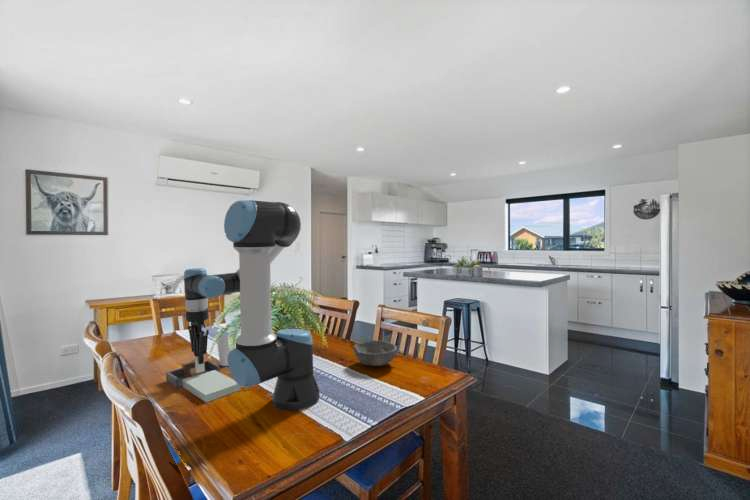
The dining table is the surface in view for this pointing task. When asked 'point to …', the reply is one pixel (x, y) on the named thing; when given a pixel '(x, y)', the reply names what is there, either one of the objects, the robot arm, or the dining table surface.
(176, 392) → the dining table surface
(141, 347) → the dining table surface
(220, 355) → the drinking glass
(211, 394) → the board
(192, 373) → the tile
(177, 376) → the tray
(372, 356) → the bowl
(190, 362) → the tile
